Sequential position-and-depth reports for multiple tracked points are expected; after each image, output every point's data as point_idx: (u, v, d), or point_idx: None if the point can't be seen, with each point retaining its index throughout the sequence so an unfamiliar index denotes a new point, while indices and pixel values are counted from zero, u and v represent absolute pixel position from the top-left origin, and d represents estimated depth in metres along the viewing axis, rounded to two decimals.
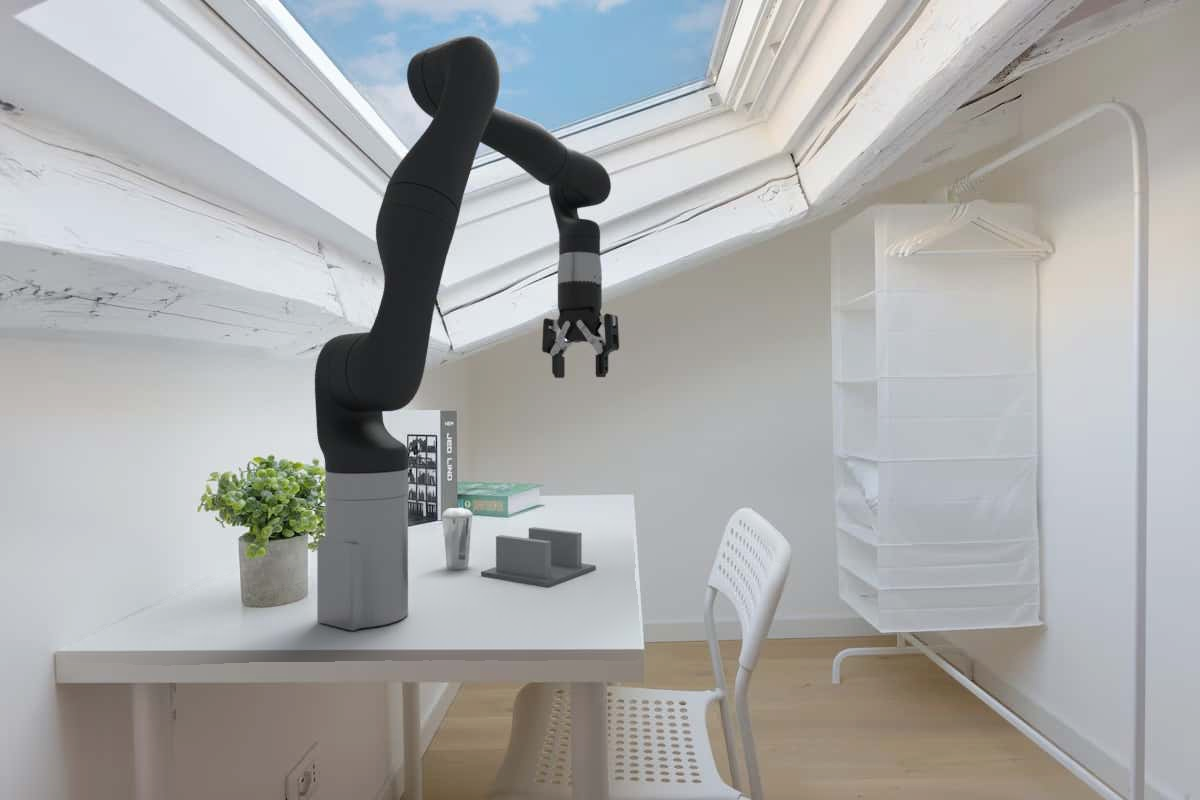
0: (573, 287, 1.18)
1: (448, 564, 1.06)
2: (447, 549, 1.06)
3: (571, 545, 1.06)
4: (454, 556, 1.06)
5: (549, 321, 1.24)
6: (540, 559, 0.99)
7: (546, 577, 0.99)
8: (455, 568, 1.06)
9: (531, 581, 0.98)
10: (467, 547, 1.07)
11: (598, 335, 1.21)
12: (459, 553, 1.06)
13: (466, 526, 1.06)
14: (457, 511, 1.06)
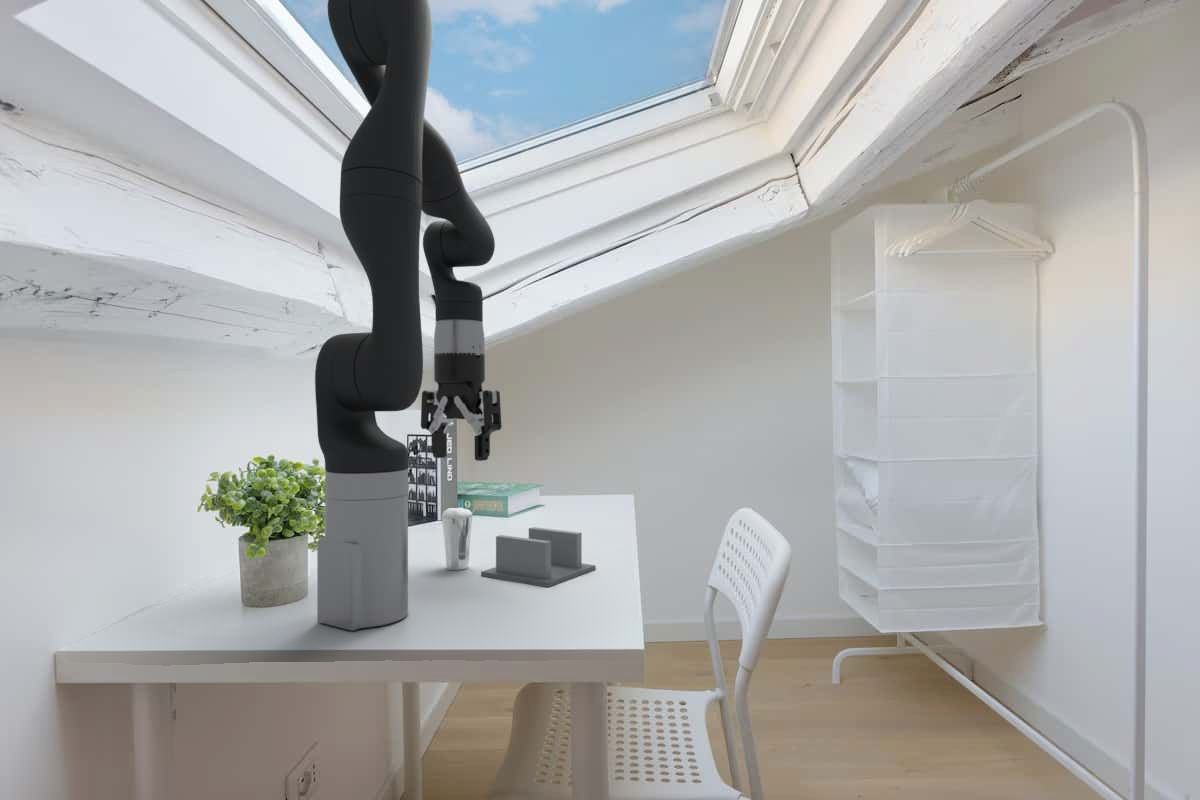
0: (448, 360, 1.04)
1: (448, 564, 1.06)
2: (447, 549, 1.06)
3: (571, 545, 1.06)
4: (454, 556, 1.06)
5: (428, 394, 1.10)
6: (540, 559, 0.99)
7: (546, 577, 0.99)
8: (455, 568, 1.06)
9: (531, 581, 0.98)
10: (467, 547, 1.07)
11: (480, 412, 1.07)
12: (459, 553, 1.06)
13: (466, 526, 1.06)
14: (457, 511, 1.06)
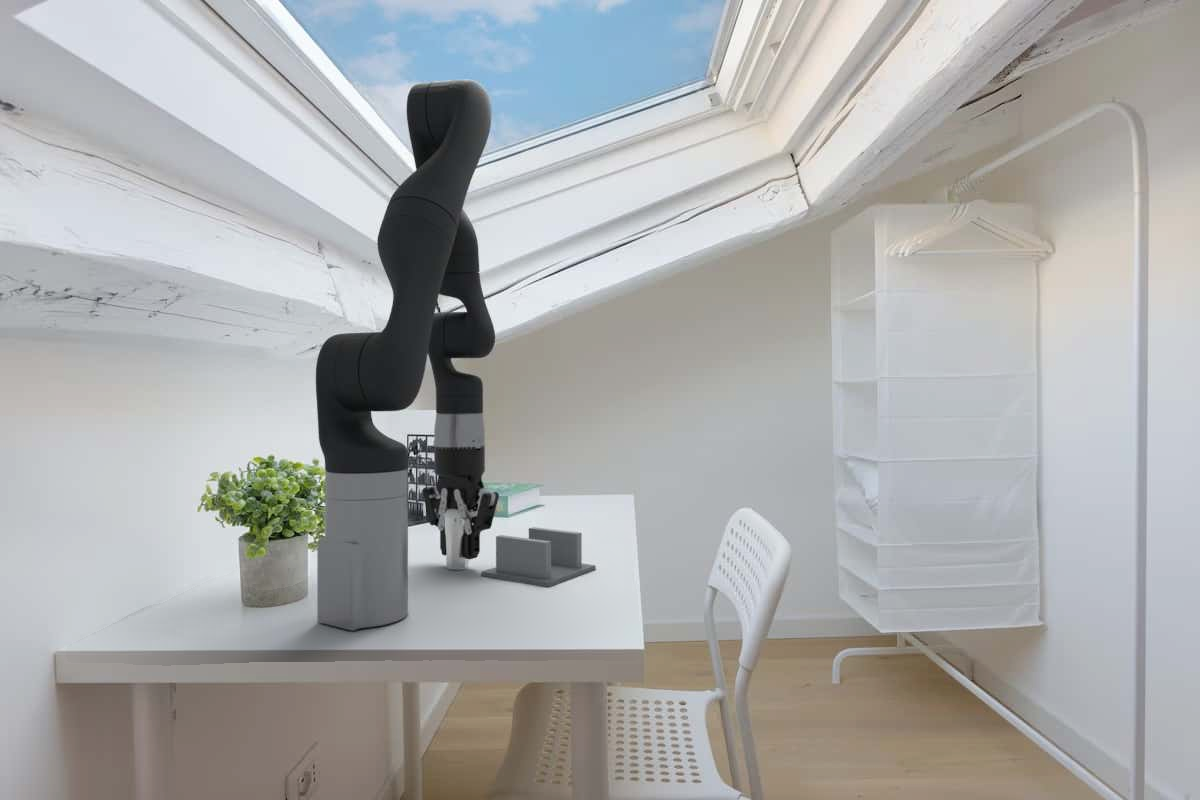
0: (448, 454, 1.04)
1: (448, 563, 1.06)
2: (448, 548, 1.06)
3: (571, 545, 1.06)
4: (454, 556, 1.06)
5: (428, 490, 1.10)
6: (540, 559, 0.99)
7: (546, 577, 0.99)
8: (456, 567, 1.06)
9: (531, 581, 0.98)
10: None
11: (476, 506, 1.08)
12: (460, 553, 1.06)
13: None
14: None
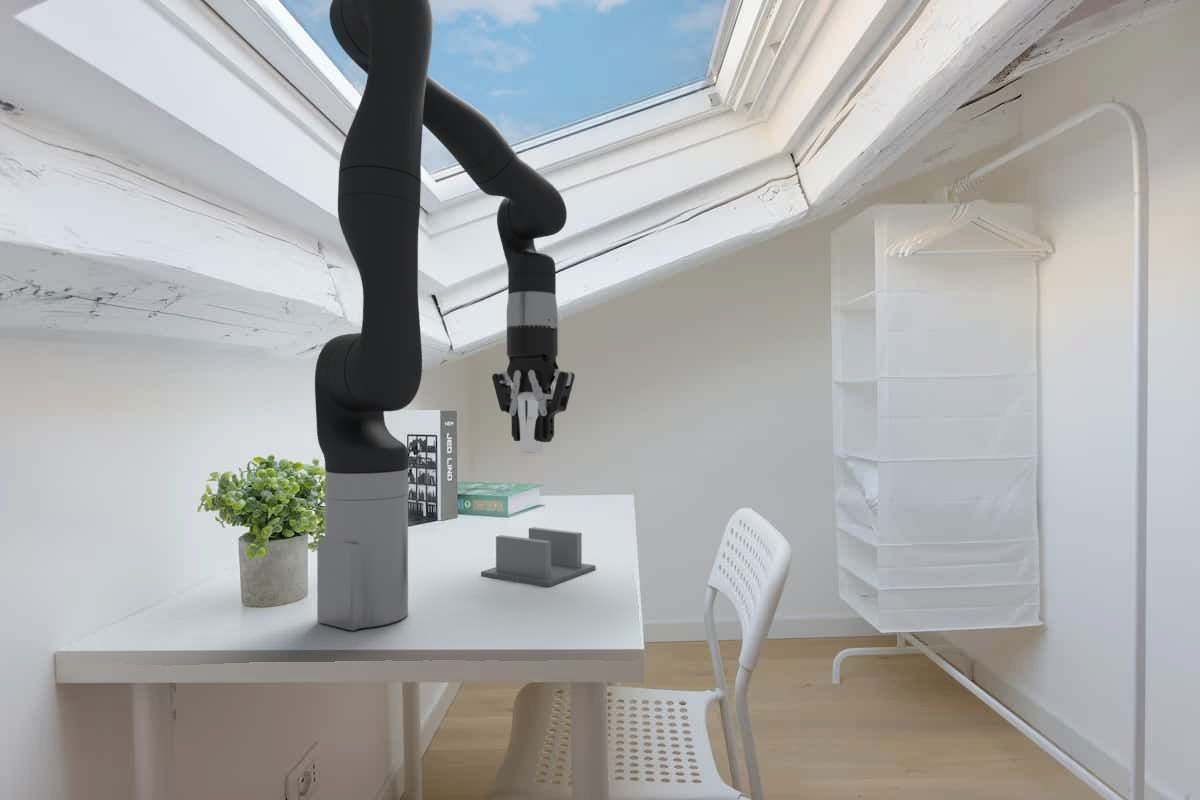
0: (523, 332, 1.02)
1: (522, 447, 1.04)
2: (522, 432, 1.04)
3: (571, 545, 1.06)
4: (529, 439, 1.03)
5: (498, 375, 1.07)
6: (540, 559, 0.99)
7: (546, 577, 0.99)
8: (530, 451, 1.03)
9: (531, 581, 0.98)
10: None
11: (549, 390, 1.05)
12: (534, 436, 1.03)
13: None
14: None
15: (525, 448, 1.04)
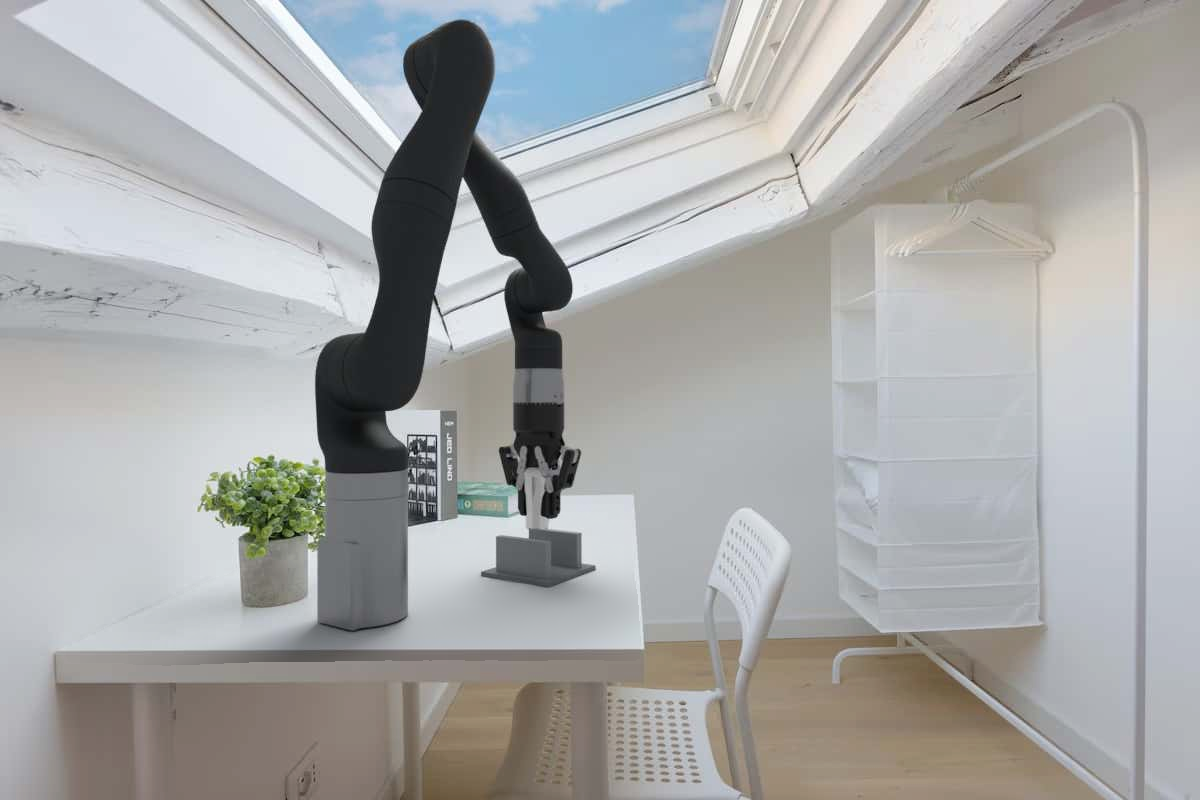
0: (530, 410, 1.01)
1: (529, 523, 1.03)
2: (528, 508, 1.03)
3: (571, 545, 1.06)
4: (535, 515, 1.03)
5: (505, 449, 1.07)
6: (540, 559, 0.99)
7: (546, 577, 0.99)
8: (536, 527, 1.03)
9: (531, 581, 0.98)
10: None
11: (556, 465, 1.05)
12: (541, 512, 1.03)
13: None
14: None
15: (531, 524, 1.03)
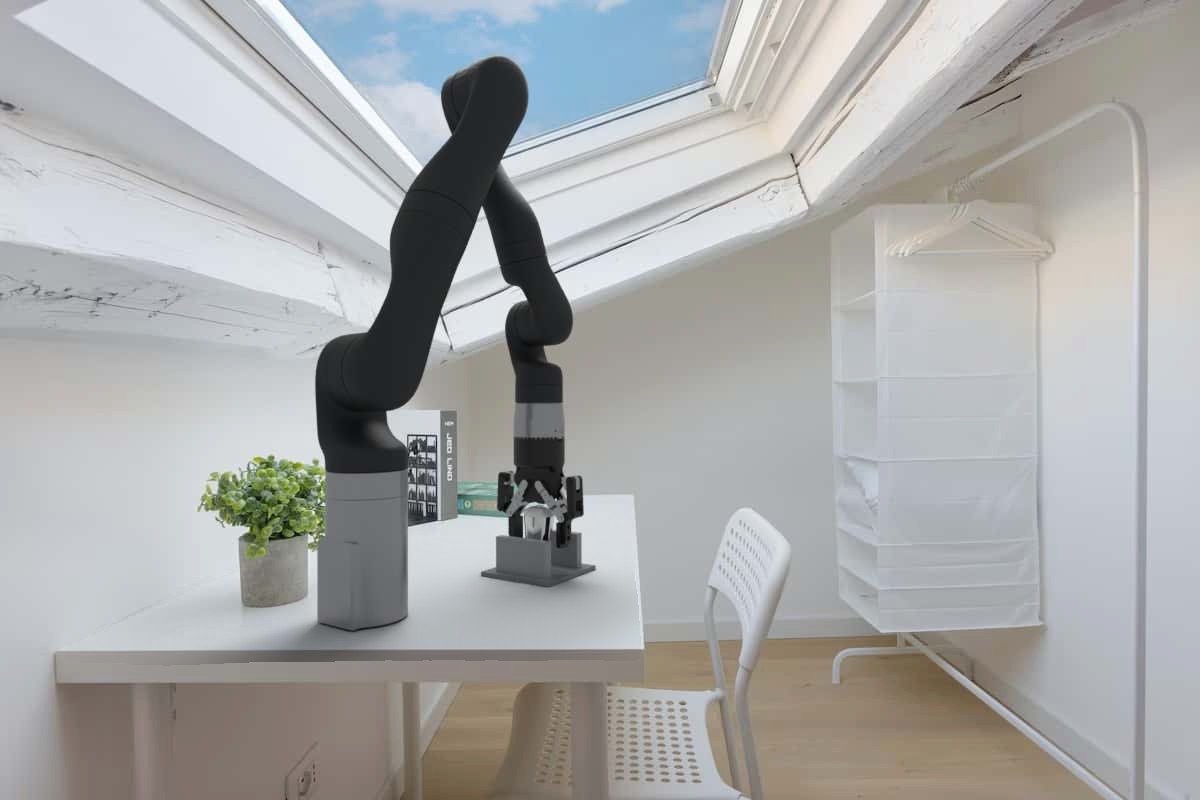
0: (530, 445, 1.01)
1: None
2: None
3: (571, 545, 1.06)
4: None
5: (505, 475, 1.07)
6: (540, 559, 0.99)
7: (546, 577, 0.99)
8: None
9: (531, 581, 0.98)
10: None
11: (560, 496, 1.04)
12: None
13: (549, 525, 1.03)
14: (541, 509, 1.03)
15: None
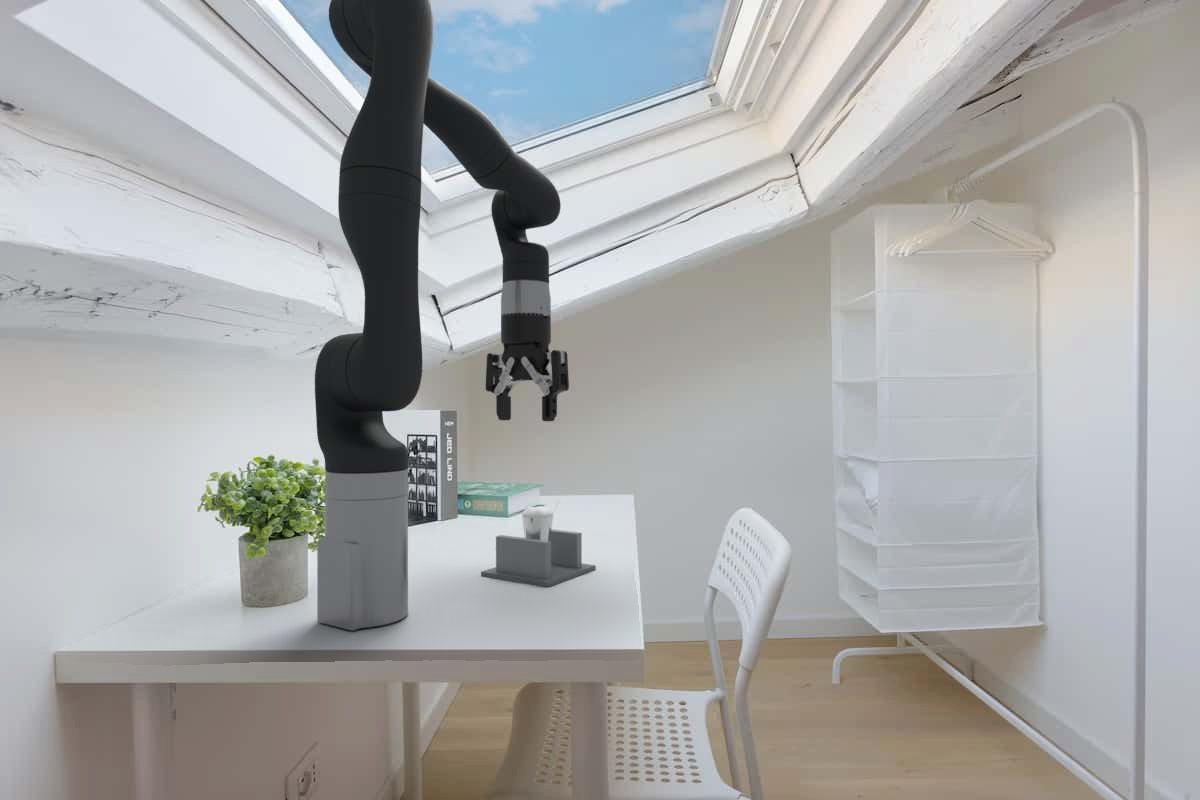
0: (516, 320, 1.04)
1: None
2: None
3: (571, 545, 1.06)
4: None
5: (493, 356, 1.10)
6: (540, 559, 0.99)
7: (546, 577, 0.99)
8: None
9: (531, 581, 0.98)
10: None
11: (546, 373, 1.07)
12: None
13: (548, 525, 1.03)
14: (539, 510, 1.03)
15: None
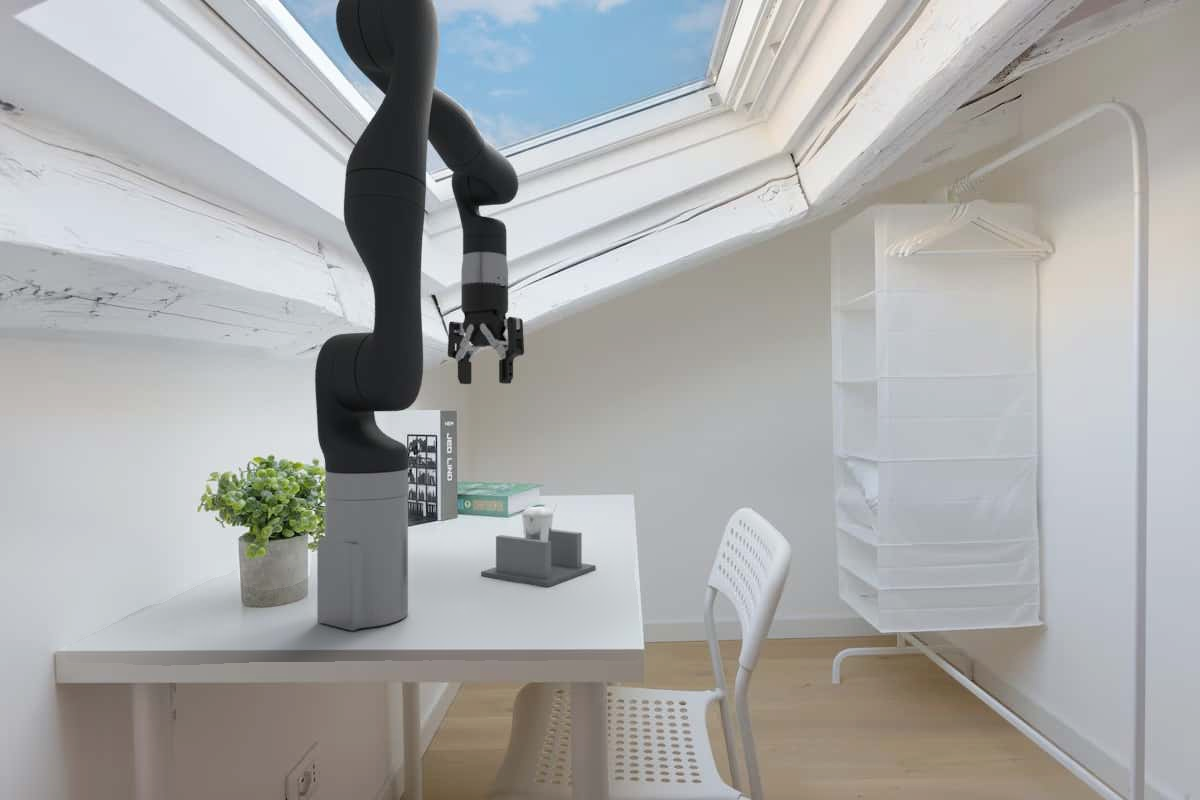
0: (475, 289, 1.12)
1: None
2: None
3: (571, 545, 1.06)
4: None
5: (454, 324, 1.18)
6: (540, 559, 0.99)
7: (546, 577, 0.99)
8: None
9: (531, 581, 0.98)
10: None
11: (504, 339, 1.15)
12: None
13: (548, 525, 1.03)
14: (539, 510, 1.03)
15: None
